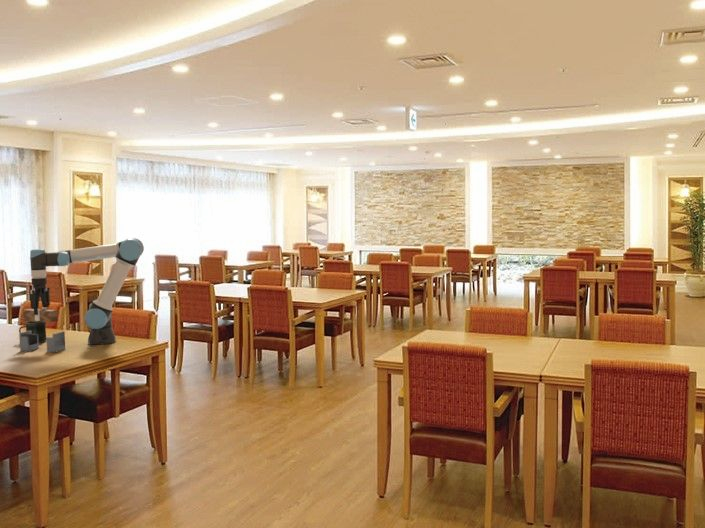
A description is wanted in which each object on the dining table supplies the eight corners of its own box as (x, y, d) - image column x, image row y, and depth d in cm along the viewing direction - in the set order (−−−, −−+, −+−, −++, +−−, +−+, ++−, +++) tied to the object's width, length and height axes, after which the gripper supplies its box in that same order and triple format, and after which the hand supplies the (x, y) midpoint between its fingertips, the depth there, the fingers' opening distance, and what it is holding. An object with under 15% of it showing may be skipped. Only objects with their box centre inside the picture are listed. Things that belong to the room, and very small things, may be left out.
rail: (57, 320, 379) (57, 310, 379) (51, 322, 375) (50, 311, 374) (30, 319, 384) (29, 308, 384) (23, 321, 379) (23, 310, 379)
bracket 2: (65, 349, 382) (64, 331, 381) (55, 352, 374) (54, 334, 373) (57, 348, 383) (56, 331, 382) (47, 352, 375) (46, 333, 374)
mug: (47, 342, 403) (46, 322, 402) (19, 345, 397) (18, 324, 396) (47, 339, 413) (46, 319, 412) (20, 342, 407) (18, 321, 406)
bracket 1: (38, 348, 386) (37, 330, 385) (28, 351, 378) (27, 333, 377) (31, 348, 387) (30, 330, 386) (20, 351, 379) (19, 333, 378)
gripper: (44, 275, 387) (46, 317, 389) (21, 279, 370) (23, 322, 372) (55, 276, 385) (57, 317, 387) (33, 279, 368) (35, 322, 370)
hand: (41, 319), depth 379 cm, fingers closed on rail, 5 cm apart
